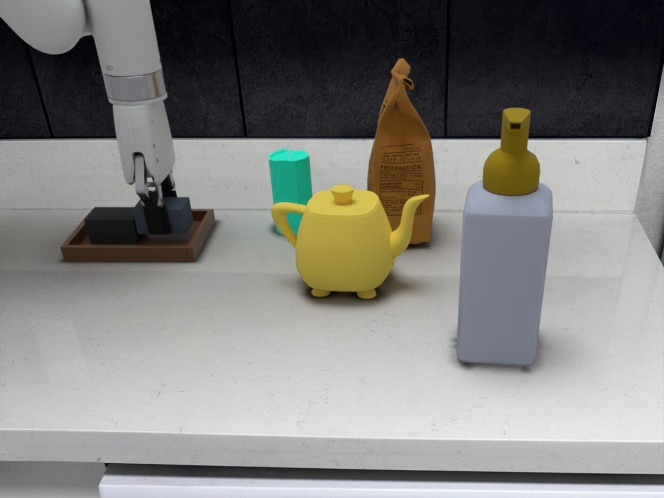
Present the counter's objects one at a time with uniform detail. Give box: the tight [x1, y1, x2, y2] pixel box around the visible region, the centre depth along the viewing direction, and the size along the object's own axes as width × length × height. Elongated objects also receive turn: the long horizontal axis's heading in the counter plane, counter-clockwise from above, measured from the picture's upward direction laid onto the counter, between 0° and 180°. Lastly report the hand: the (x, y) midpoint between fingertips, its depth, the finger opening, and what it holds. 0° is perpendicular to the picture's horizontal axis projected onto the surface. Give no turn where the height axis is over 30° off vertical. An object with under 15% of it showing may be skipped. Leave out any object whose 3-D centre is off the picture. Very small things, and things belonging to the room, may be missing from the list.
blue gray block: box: [132, 196, 194, 234], centre depth 114 cm, size 7×5×4 cm
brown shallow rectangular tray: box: [59, 208, 216, 263], centre depth 115 cm, size 19×15×2 cm
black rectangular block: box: [83, 206, 144, 244], centre depth 115 cm, size 7×5×4 cm
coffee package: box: [366, 58, 437, 245], centre depth 110 cm, size 10×12×22 cm
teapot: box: [270, 183, 429, 300], centre depth 101 cm, size 13×20×12 cm
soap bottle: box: [455, 107, 554, 367], centre depth 84 cm, size 9×9×25 cm
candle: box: [268, 142, 314, 237], centre depth 115 cm, size 6×6×12 cm
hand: (165, 224), depth 114 cm, fingers closed on blue gray block, 5 cm apart
